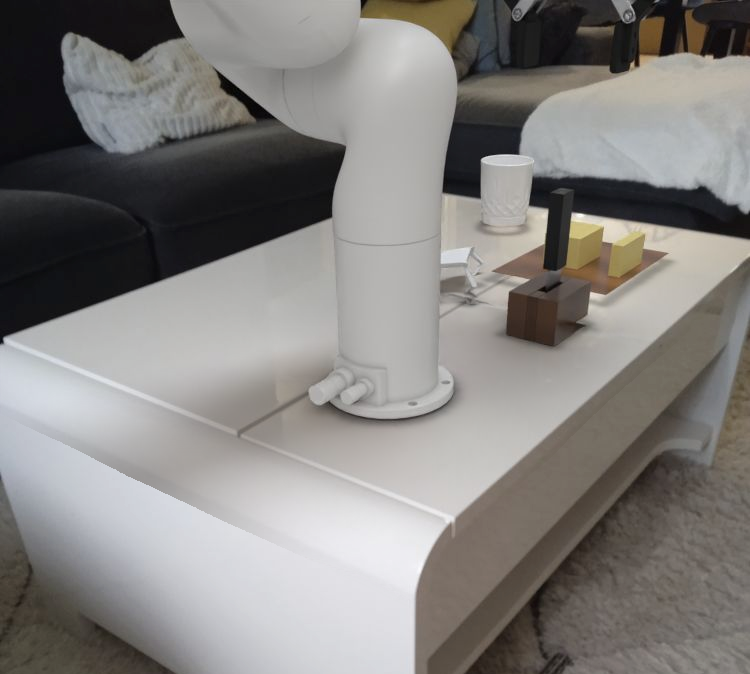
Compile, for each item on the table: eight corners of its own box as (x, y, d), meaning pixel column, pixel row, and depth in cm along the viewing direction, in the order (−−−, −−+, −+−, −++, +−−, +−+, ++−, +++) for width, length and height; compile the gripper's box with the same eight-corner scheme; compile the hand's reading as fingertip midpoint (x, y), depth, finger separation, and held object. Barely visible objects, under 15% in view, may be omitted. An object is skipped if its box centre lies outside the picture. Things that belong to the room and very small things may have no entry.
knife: (548, 333, 92) (562, 195, 84) (536, 330, 93) (548, 193, 85) (561, 325, 94) (575, 189, 86) (548, 322, 95) (561, 187, 87)
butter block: (577, 270, 107) (580, 238, 105) (542, 263, 109) (545, 232, 107) (600, 256, 111) (604, 226, 109) (566, 250, 114) (569, 220, 112)
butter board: (604, 304, 100) (605, 294, 99) (490, 280, 108) (491, 270, 107) (667, 261, 113) (669, 252, 112) (561, 242, 121) (562, 234, 120)
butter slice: (618, 277, 104) (623, 246, 102) (607, 275, 105) (611, 244, 102) (641, 263, 108) (645, 232, 106) (630, 261, 109) (634, 231, 107)
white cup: (527, 221, 131) (532, 154, 125) (530, 235, 124) (536, 165, 119) (477, 221, 132) (480, 154, 126) (477, 235, 125) (481, 165, 120)
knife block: (553, 346, 89) (558, 302, 87) (505, 334, 92) (508, 291, 90) (586, 324, 94) (591, 281, 92) (539, 313, 98) (543, 271, 95)
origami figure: (465, 314, 98) (467, 274, 95) (403, 304, 101) (402, 264, 98) (502, 284, 107) (505, 246, 104) (443, 275, 110) (444, 238, 107)
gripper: (482, -152, 72) (474, 69, 81) (678, -173, 63) (642, 79, 72) (525, -147, 76) (512, 61, 86) (712, -165, 67) (674, 69, 77)
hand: (571, 69), depth 79 cm, fingers open, 9 cm apart
